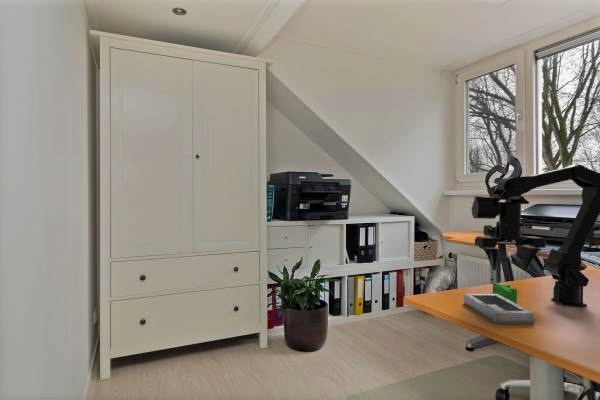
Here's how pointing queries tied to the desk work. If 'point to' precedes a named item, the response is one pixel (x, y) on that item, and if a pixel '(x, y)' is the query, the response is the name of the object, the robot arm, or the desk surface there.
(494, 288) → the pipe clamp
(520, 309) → the gray rectangular tray
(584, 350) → the desk surface
